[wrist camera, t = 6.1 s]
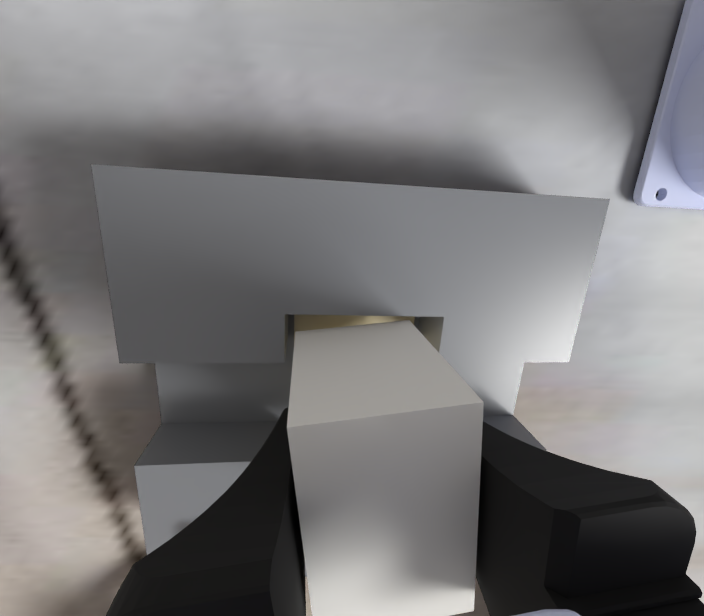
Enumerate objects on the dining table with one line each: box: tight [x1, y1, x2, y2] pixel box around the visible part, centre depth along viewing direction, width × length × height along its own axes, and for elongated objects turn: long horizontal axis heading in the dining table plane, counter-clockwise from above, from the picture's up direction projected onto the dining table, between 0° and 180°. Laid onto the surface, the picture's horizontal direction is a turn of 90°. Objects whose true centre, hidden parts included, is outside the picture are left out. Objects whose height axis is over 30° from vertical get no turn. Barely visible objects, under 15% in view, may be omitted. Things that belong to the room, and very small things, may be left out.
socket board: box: [91, 164, 610, 577], centre depth 14 cm, size 16×16×4 cm
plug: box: [287, 320, 484, 616], centre depth 11 cm, size 4×6×6 cm, turn 3°
